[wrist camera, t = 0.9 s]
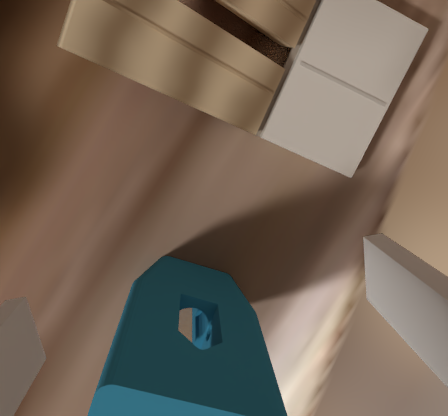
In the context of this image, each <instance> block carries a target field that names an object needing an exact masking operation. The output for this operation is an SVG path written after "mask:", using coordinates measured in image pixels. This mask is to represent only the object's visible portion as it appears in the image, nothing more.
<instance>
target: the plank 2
mask: <svg viewBox="0 0 448 416" xmlns="http://www.w3.org/2000/svg"><path fill="white" fill-rule="evenodd" d="M215 1H216V2H218V3H219V4H221V5H222V6H224V7H225V8H226V9H228V10H229V11H231V12H232V13H234V14H235V15H237V16H238V17H240V18H241V19H242V20H244V21H245V22H247V23H248V24H250V25H251V26H253V27H254V28H256V29H257V30H259V31H260V32H261V33H263V34H264V35H266V36H267V37H269V38H270V39H272V40H273V41H275V42H276V43H277V44H279V45H280V46H283V47H292V48H295V47H296V45H297V42H298V40H299V38H300V36H301V33H302V31H303V29H304V27H305V25H306V22H307V20H308V18H309V16H310V13H311V11H312V9H313V7H314V4H315V2H316V0H215Z"/></svg>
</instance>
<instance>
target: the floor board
mask: <svg viewBox="0 0 448 416" xmlns="http://www.w3.org/2000/svg"><path fill="white" fill-rule="evenodd" d="M428 30H429V29H428V28H426V27H424V26H422V25H421V24H419V23H417V22H415V21H413V20H412V19H410V18H408V17H406V16H404V15H403V14H401V13H399V12H397V11H395V10H393V9H392V8H390V7H388V6H386V5H384V4H383V3H381V2H379V1H377V0H316V2H315V4H314V7H313V9H312V11H311V13H310V16H309V18H308V20H307V22H306V25H305V27H304V29H303V31H302V33H301V36H300V38H299V40H298V42H297V45H296V47H295V48H292V47H291V49H290V51H289V54H288V56H287V58H286V60H285V63H284V65H283V68H284V69H285V71H284V74H283V76H282V78H281V80H280V82H279V85H278V87H277V89H276V91H275V94H274V96H273V98H272V100H271V103H270V105H269V107H268V109H267V111H266V114H265V116H264V118H263V120H262V123H261V125H260V127H259V129H258V132H257V134H256V136H259V137H261V138H263V139H265V140H267V141H270V142H272V143H274V144H276V145H279V146H281V147H283V148H285V149H287V150H290V151H292V152H294V153H296V154H299V155H301V156H303V157H305V158H308V159H310V160H312V161H314V162H316V163H319V164H321V165H323V166H325V167H328V168H330V169H332V170H334V171H336V172H339V173H341V174H343V175H345V176H348V177H350V178H352V176H353V174H354V173H355V171H356V169H357V167H358V165H359V163H360V161H361V159H362V157H363V155H364V153H365V151H366V149H367V147H368V145H369V144H370V142H371V140H372V138H373V136H374V134H375V132H376V130H377V128H378V126H379V124H380V122H381V120H382V118H383V116H384V115H385V113H386V111H387V109H388V107H389V105H390V103H391V101H392V99H393V97H394V95H395V93H396V91H397V89H398V88H399V86H400V84H401V82H402V80H403V78H404V76H405V74H406V72H407V70H408V68H409V66H410V64H411V62H412V60H413V59H414V57H415V55H416V53H417V51H418V49H419V47H420V45H421V43H422V41H423V39H424V37H425V35H426V33H427V31H428Z"/></svg>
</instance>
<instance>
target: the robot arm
mask: <svg viewBox="0 0 448 416" xmlns="http://www.w3.org/2000/svg"><path fill="white" fill-rule="evenodd" d="M363 243H364V260H365V277H366V293H367V300H368V301H369V302H370V303H371V304H372V305H373V306H374V307H375V309H376V310H377V311H378V312H379V313H380V314H381V315H382V316H383V317H384V318H385V320H386V321H387V322H388V323H389V324H390V325H391V326H392V327H393V328H394V329H395V330H396V331H397V333H398V334H399V335H400V336H401V337H402V338H403V339H404V340H405V342H406V343H407V344H408V345H409V346H410V347H411V348H412V349H413V350H414V351H415V352H416V354H417V355H419V357H420V358H421V359H422V360H423V361H424V362H425V363H426V364H427V366H428V367H429V368H430V369H431V370H432V371H433V372H434V373H435V374H436V375H437V377H438V378H439V379H440V380H441V381H442V382H443V383H444V384H445V385H446V386H447V387H448V277H447V276H445V275H444V274H443V273H441V272H440V271H438V270H437V269H435V268H434V267H432V266H430V265H429V264H428V263H426V262H424V261H423V260H422V259H420V258H419V257H417V256H416V255H414V254H413V253H411V252H410V251H408V250H407V249H405V248H403V247H402V246H400V245H399V244H397V243H396V242H394V241H393V240H391V239H390V238H388V237H387V236H385V235H384V234H382V233H381V234H375V235H370V236H364V237H363ZM45 360H46V356H45V353H44V350H43V347H42V344H41V341H40V338H39V335H38V332H37V328H36V325H35V322H34V319H33V316H32V313H31V310H30V307H29V304H28V301H27V298H26V297H21V298H16V299H10V300H5V301H4V302H3V303H2V304H1V306H0V416H13V415H14V414H15V412H16V410H17V408H18V407H19V405H20V403H21V401H22V400H23V398H24V396H25V395H26V393H27V391H28V389H29V388H30V386H31V384H32V382H33V381H34V379H35V377H36V375H37V374H38V372H39V370H40V368H41V367H42V365H43V363H44V362H45Z"/></svg>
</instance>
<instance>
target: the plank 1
mask: <svg viewBox="0 0 448 416" xmlns="http://www.w3.org/2000/svg"><path fill="white" fill-rule="evenodd" d="M57 46H58V47H60V48H63V49H65V50H67V51H69V52H71V53H74V54H76V55H78V56H80V57H83V58H85V59H87V60H89V61H92V62H94V63H96V64H98V65H100V66H103V67H105V68H107V69H109V70H112V71H114V72H116V73H118V74H120V75H123V76H125V77H127V78H129V79H132V80H134V81H136V82H138V83H141V84H143V85H145V86H147V87H149V88H152V89H154V90H156V91H158V92H161V93H163V94H165V95H167V96H169V97H172V98H174V99H176V100H178V101H181V102H183V103H185V104H187V105H190V106H192V107H194V108H196V109H198V110H201V111H203V112H205V113H207V114H210V115H212V116H214V117H216V118H218V119H221V120H223V121H225V122H227V123H230V124H232V125H234V126H236V127H238V128H241V129H243V130H245V131H247V132H250V133H252V134H254V135H256V134H257V132H258V129H259V127H260V125H261V123H262V120H263V118H264V116H265V114H266V111H267V109H268V107H269V105H270V103H271V100H272V98H273V96H274V94H275V91H276V89H277V87H278V85H279V82H280V80H281V78H282V76H283V74H284V71H285V69H284V68H283V67H281V66H280V65H278V64H277V63H275V62H273V61H272V60H270V59H269V58H267V57H266V56H264V55H262V54H261V53H259V52H258V51H256V50H255V49H253V48H251V47H250V46H248V45H247V44H245V43H244V42H242V41H240V40H239V39H237V38H236V37H234V36H233V35H231V34H230V33H228V32H226V31H225V30H223V29H222V28H220V27H219V26H217V25H215V24H214V23H212V22H211V21H209V20H208V19H206V18H204V17H203V16H201V15H200V14H198V13H197V12H195V11H193V10H192V9H190V8H189V7H187V6H186V5H184V4H183V3H181V2H179V1H178V0H71V1H70V5H69V8H68V11H67V14H66V17H65V20H64V24H63V27H62V30H61V33H60V36H59V39H58V43H57Z"/></svg>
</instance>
